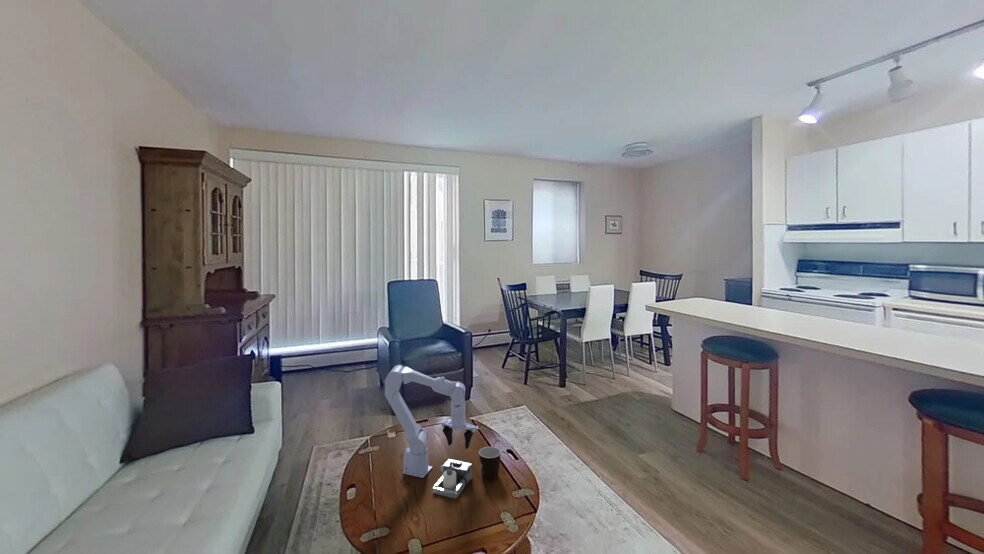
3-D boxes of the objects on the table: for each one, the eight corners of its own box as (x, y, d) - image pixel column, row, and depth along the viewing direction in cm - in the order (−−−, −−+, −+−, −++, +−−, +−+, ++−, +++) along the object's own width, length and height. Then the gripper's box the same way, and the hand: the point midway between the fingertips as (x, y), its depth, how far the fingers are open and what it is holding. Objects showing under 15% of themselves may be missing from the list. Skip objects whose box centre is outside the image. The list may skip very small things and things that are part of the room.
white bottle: (440, 491, 146) (440, 472, 145) (447, 483, 150) (447, 465, 150) (451, 494, 144) (451, 475, 143) (458, 487, 148) (458, 468, 148)
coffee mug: (498, 484, 150) (498, 459, 149) (477, 481, 152) (476, 456, 151) (503, 467, 161) (503, 443, 160) (483, 465, 163) (483, 442, 162)
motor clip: (471, 478, 154) (471, 461, 153) (456, 499, 141) (456, 480, 141) (443, 471, 158) (443, 455, 158) (426, 491, 146) (426, 473, 145)
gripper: (437, 414, 156) (438, 447, 157) (470, 420, 151) (471, 454, 152) (445, 408, 163) (446, 439, 164) (477, 413, 157) (478, 445, 158)
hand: (458, 446), depth 158 cm, fingers open, 7 cm apart
